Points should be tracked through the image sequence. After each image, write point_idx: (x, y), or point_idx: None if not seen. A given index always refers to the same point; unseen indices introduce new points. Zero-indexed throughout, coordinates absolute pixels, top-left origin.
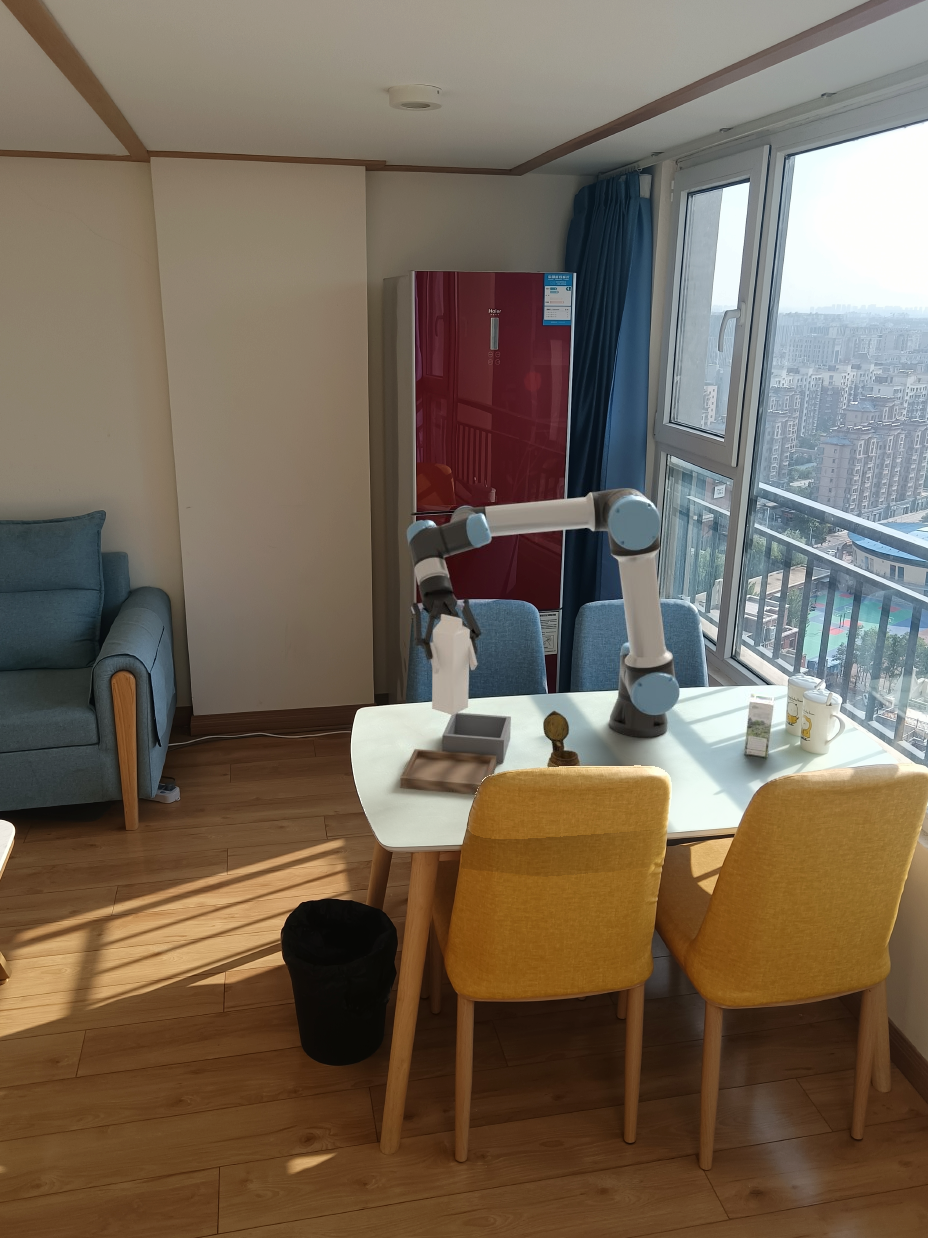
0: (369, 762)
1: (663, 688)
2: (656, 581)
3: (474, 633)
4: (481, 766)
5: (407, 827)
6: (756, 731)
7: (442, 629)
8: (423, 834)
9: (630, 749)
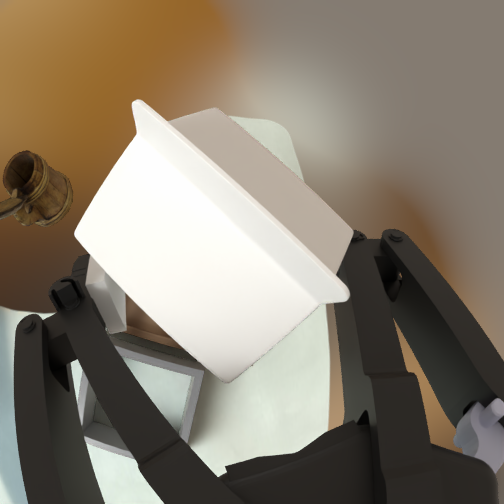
0: (319, 348)
1: None
2: None
3: (53, 337)
4: (138, 309)
5: (265, 147)
6: None
7: (295, 192)
8: (246, 130)
9: None
